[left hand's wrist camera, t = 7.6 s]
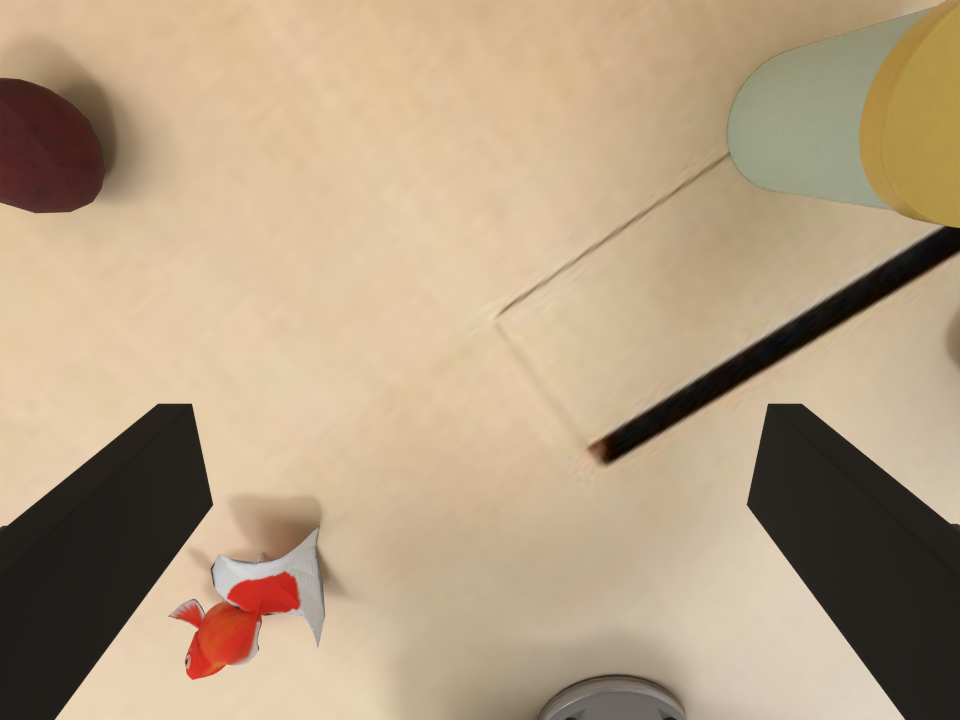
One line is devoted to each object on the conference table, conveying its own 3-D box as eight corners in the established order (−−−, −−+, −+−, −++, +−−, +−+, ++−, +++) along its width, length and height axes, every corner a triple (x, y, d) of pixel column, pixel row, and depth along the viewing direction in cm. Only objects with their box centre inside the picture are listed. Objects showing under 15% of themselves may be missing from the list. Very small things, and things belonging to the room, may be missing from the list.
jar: (739, 46, 34) (921, -21, 20) (877, 48, 34) (1154, -18, 20) (716, 190, 38) (860, 219, 23) (843, 192, 38) (1062, 221, 23)
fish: (111, 593, 44) (115, 699, 37) (276, 466, 48) (311, 539, 40) (203, 644, 51) (222, 743, 43) (342, 529, 54) (382, 602, 47)
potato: (63, 60, 35) (-35, 40, 28) (154, 169, 37) (84, 175, 30) (-14, 130, 36) (-124, 127, 29) (78, 231, 38) (-5, 249, 32)
